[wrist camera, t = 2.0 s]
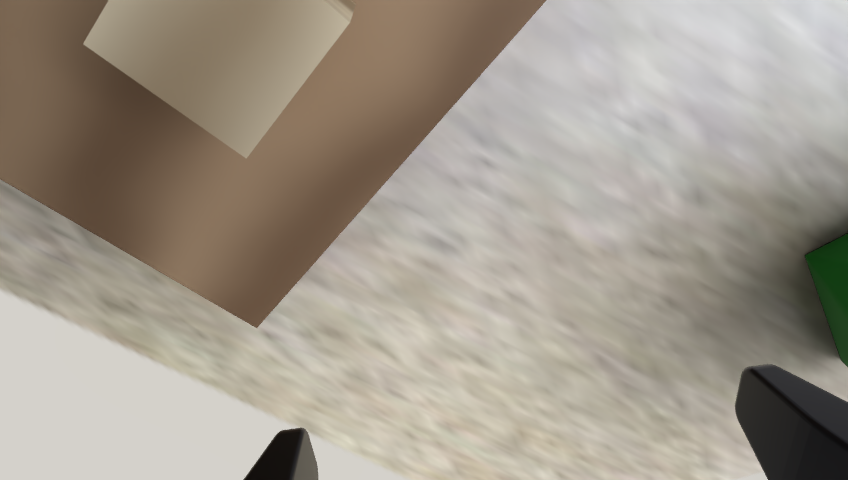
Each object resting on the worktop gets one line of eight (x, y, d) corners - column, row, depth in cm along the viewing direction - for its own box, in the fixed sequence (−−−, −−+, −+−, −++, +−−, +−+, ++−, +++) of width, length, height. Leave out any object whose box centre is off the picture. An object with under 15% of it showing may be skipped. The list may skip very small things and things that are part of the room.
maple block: (356, 4, 16) (350, 22, 12) (273, 113, 17) (246, 158, 13) (230, -109, 14) (181, -125, 11) (150, 20, 15) (83, 44, 12)
